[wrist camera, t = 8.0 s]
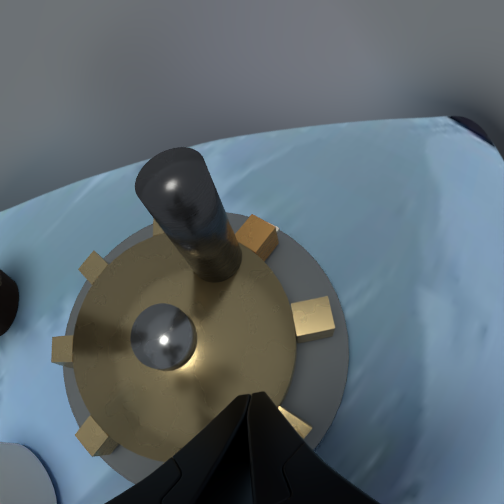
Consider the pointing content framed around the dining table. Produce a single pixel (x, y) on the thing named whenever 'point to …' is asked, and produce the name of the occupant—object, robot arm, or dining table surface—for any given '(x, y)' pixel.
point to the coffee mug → (7, 302)
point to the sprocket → (183, 320)
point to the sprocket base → (307, 361)
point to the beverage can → (23, 477)
